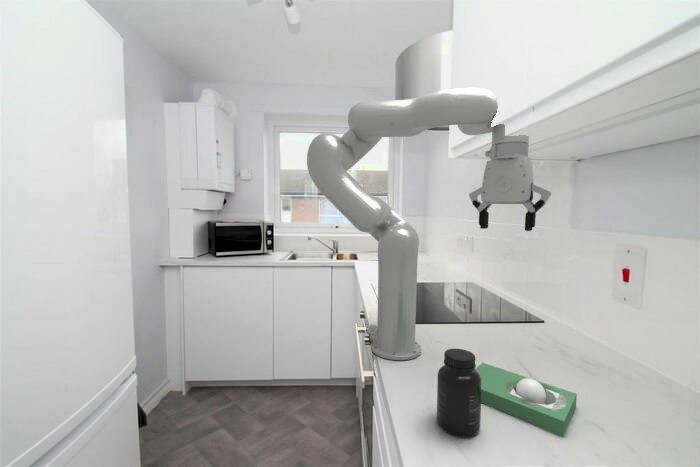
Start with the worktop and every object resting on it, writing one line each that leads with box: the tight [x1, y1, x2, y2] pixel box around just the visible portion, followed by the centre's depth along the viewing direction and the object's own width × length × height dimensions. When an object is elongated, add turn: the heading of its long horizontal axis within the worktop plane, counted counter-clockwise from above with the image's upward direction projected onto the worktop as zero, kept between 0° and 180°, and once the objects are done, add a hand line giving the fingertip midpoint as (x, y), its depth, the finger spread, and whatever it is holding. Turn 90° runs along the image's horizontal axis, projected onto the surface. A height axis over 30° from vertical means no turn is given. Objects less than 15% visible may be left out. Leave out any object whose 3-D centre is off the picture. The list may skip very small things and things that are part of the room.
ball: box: [516, 377, 546, 404], centre depth 59 cm, size 5×5×5 cm
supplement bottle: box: [436, 348, 482, 438], centre depth 53 cm, size 7×7×12 cm
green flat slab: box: [475, 362, 578, 437], centre depth 61 cm, size 17×11×2 cm, turn 47°
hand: (505, 229), depth 75 cm, fingers open, 9 cm apart
